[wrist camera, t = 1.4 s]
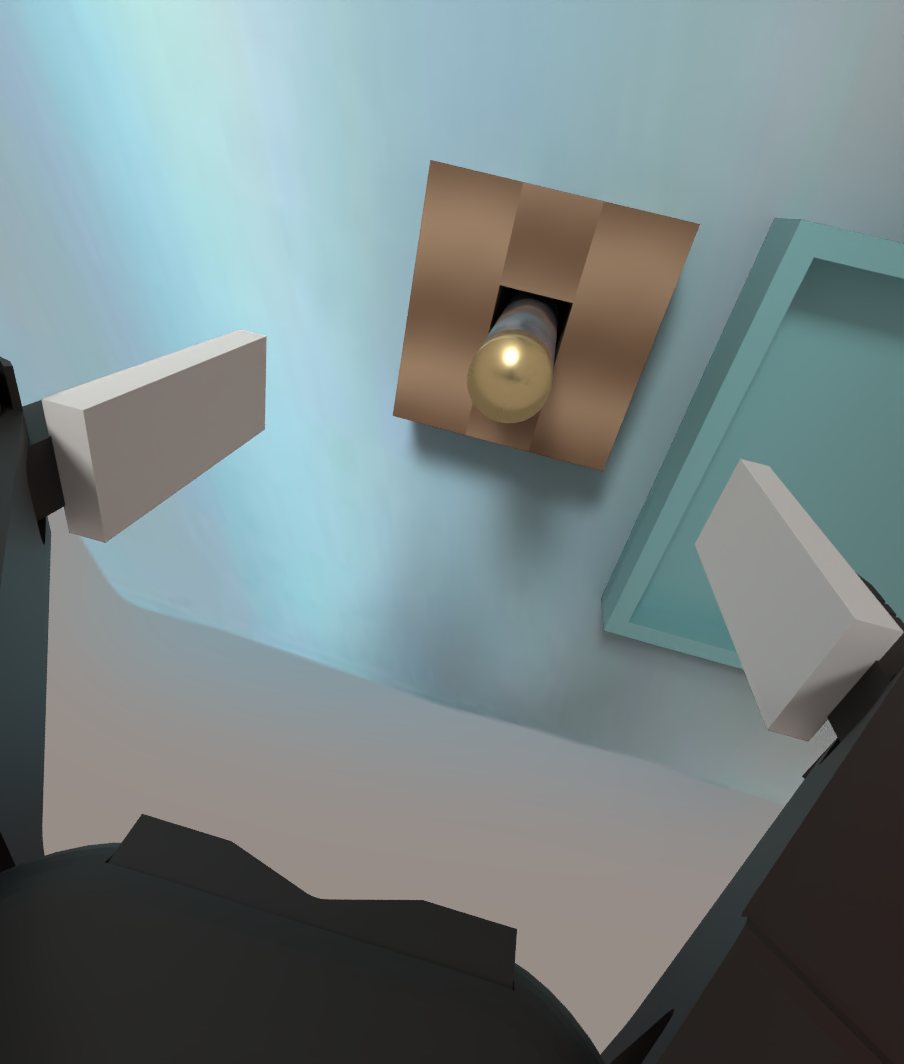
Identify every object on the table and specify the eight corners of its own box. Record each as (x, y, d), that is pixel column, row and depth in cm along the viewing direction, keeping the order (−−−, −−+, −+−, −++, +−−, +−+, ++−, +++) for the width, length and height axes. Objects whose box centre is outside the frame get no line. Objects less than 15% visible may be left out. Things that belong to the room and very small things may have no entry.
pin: (511, 283, 29) (477, 328, 18) (565, 296, 29) (563, 350, 18) (498, 339, 31) (459, 411, 20) (549, 352, 31) (538, 432, 20)
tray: (774, 218, 26) (801, 219, 23) (1300, 341, 25) (1399, 360, 22) (601, 598, 39) (604, 630, 36) (940, 691, 37) (971, 733, 34)
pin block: (447, 165, 27) (430, 159, 24) (683, 221, 27) (699, 224, 23) (410, 394, 34) (392, 415, 30) (599, 444, 33) (602, 471, 30)
